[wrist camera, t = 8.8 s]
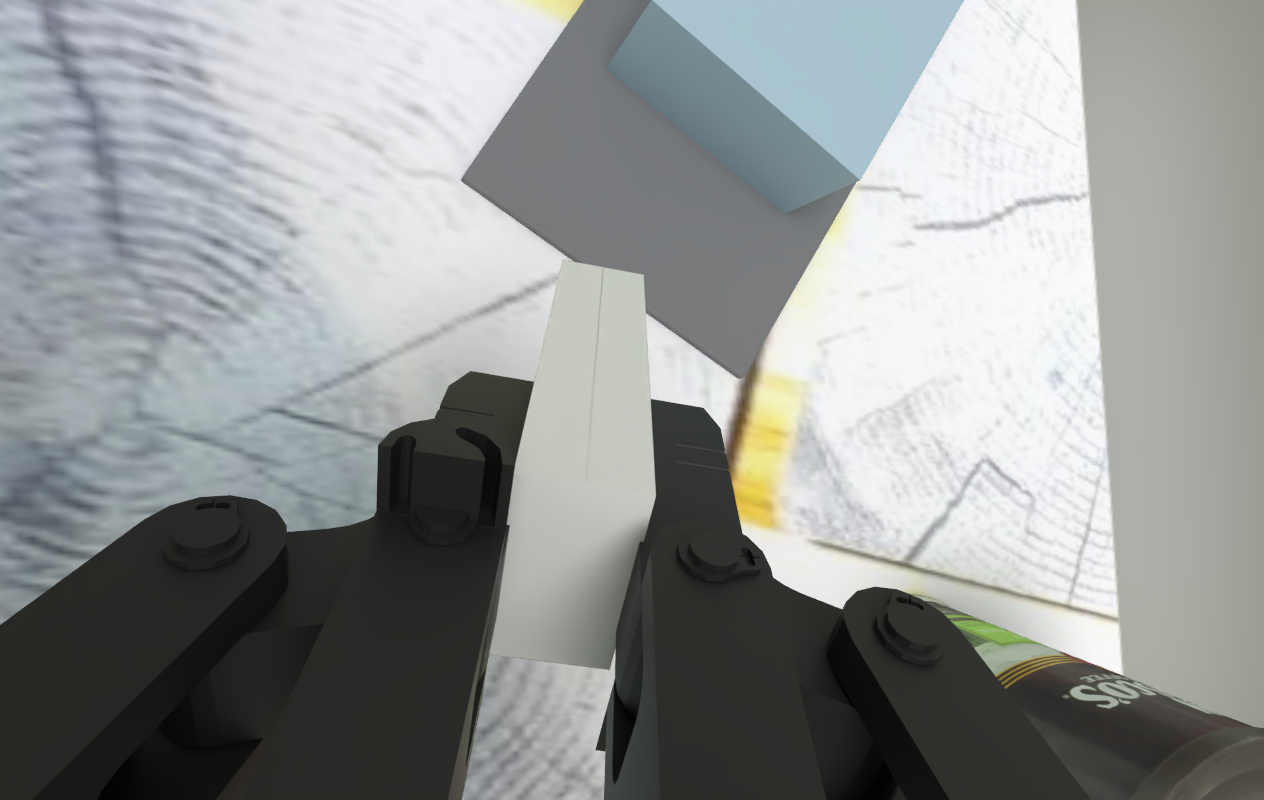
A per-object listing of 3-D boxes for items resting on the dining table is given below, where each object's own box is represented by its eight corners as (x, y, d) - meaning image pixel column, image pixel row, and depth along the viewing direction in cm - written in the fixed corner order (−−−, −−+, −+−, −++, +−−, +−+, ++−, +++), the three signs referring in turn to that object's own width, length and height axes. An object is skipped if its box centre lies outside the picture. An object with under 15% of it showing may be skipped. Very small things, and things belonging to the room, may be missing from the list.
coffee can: (845, 560, 31) (1189, 687, 18) (1015, 635, 34) (1418, 793, 21) (757, 794, 30) (1054, 1121, 16) (941, 850, 33) (1318, 1166, 19)
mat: (738, 378, 29) (743, 378, 29) (461, 180, 26) (462, 177, 25) (992, -62, 33) (999, -67, 33) (782, -287, 30) (787, -295, 29)
